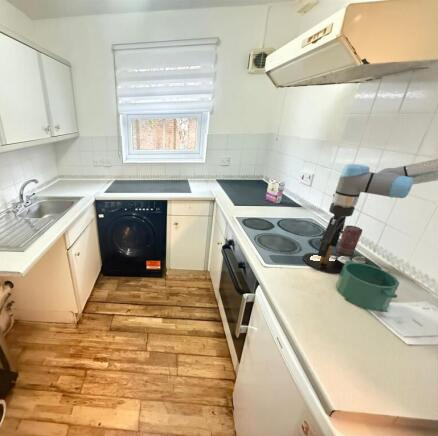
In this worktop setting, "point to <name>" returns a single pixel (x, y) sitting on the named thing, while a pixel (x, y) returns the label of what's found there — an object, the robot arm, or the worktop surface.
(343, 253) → the can
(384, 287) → the pot
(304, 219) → the worktop surface
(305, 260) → the lid
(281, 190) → the candy bar box
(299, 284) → the worktop surface
